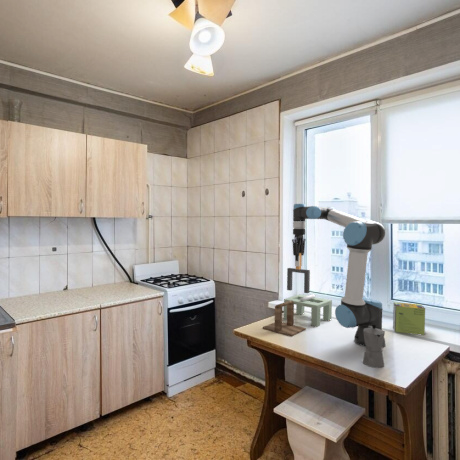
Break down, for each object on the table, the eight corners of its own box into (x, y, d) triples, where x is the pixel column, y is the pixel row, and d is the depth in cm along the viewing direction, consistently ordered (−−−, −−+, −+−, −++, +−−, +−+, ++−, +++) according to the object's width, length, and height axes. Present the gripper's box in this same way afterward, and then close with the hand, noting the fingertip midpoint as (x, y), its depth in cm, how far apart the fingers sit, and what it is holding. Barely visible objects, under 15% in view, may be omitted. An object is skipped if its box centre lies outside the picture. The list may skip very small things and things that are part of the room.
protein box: (425, 335, 189) (425, 308, 188) (395, 332, 194) (395, 305, 193) (420, 329, 199) (421, 304, 198) (392, 326, 204) (393, 301, 203)
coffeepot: (389, 370, 143) (390, 329, 142) (367, 369, 144) (368, 328, 143) (377, 356, 158) (378, 319, 158) (357, 355, 159) (357, 318, 159)
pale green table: (317, 326, 202) (317, 301, 202) (283, 318, 218) (284, 295, 218) (331, 319, 217) (331, 296, 216) (299, 312, 233) (299, 291, 232)
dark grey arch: (307, 293, 202) (308, 254, 201) (287, 290, 211) (287, 252, 211) (309, 292, 204) (310, 253, 203) (288, 289, 213) (289, 252, 213)
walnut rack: (291, 336, 184) (292, 308, 184) (262, 328, 197) (263, 302, 197) (306, 329, 196) (306, 303, 195) (277, 322, 209) (278, 297, 209)
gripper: (299, 228, 215) (299, 264, 216) (287, 228, 203) (287, 266, 204) (310, 228, 210) (309, 265, 211) (298, 228, 198) (297, 267, 199)
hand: (298, 265), depth 207 cm, fingers closed on dark grey arch, 2 cm apart
